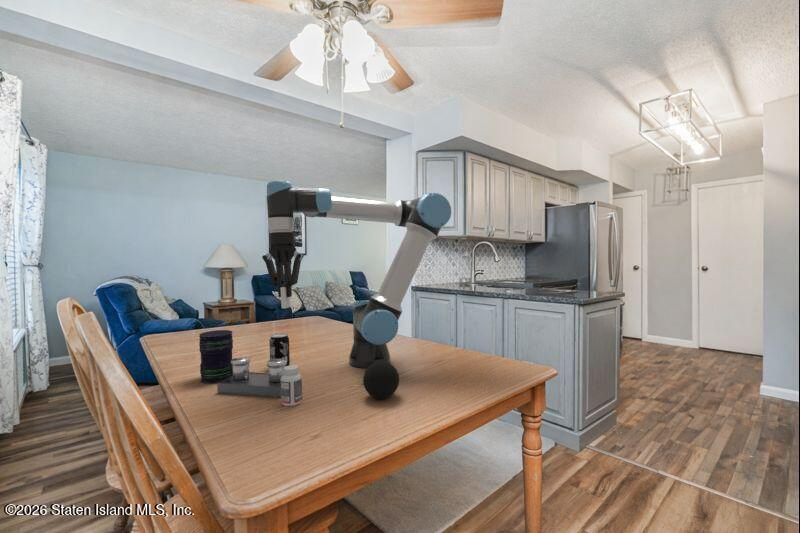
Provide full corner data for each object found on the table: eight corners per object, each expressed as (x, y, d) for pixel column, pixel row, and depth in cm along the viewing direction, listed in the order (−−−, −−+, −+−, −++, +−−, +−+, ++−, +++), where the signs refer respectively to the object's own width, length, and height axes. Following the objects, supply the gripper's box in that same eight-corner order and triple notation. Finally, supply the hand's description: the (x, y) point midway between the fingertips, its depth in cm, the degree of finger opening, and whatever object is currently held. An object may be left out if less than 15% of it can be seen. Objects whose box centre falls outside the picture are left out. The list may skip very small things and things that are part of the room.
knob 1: (254, 384, 116) (253, 356, 116) (243, 390, 111) (243, 361, 111) (239, 383, 118) (238, 356, 117) (227, 389, 112) (226, 360, 112)
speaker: (402, 391, 109) (402, 357, 109) (395, 405, 99) (394, 368, 99) (369, 389, 111) (368, 356, 111) (358, 403, 101) (358, 366, 101)
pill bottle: (300, 397, 106) (299, 363, 105) (304, 404, 101) (303, 368, 101) (280, 401, 103) (279, 365, 103) (283, 408, 99) (282, 371, 98)
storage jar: (207, 386, 116) (205, 338, 115) (195, 379, 123) (194, 333, 122) (239, 377, 123) (238, 332, 123) (226, 371, 130) (225, 328, 129)
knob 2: (290, 386, 114) (289, 358, 114) (280, 393, 109) (280, 363, 108) (273, 385, 115) (273, 357, 115) (264, 392, 110) (263, 362, 109)
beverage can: (292, 366, 135) (291, 333, 135) (285, 371, 129) (284, 337, 129) (275, 365, 136) (274, 332, 136) (266, 371, 130) (266, 337, 129)
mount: (298, 384, 116) (298, 374, 116) (279, 397, 106) (279, 386, 106) (241, 380, 121) (240, 370, 121) (217, 393, 110) (217, 382, 110)
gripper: (306, 231, 119) (310, 305, 120) (268, 233, 121) (272, 306, 122) (296, 230, 112) (300, 309, 113) (255, 232, 114) (260, 310, 115)
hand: (285, 307), depth 118 cm, fingers closed
